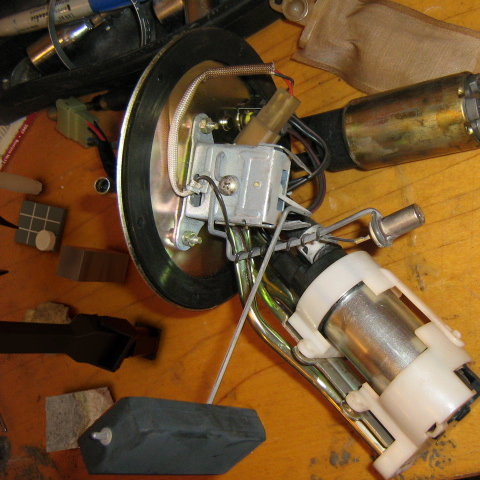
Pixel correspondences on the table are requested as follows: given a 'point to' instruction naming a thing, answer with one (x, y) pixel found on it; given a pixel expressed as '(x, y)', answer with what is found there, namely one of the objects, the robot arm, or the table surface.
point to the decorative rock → (48, 315)
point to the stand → (92, 264)
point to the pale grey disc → (45, 240)
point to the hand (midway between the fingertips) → (12, 249)
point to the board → (39, 222)
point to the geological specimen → (73, 416)
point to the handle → (19, 183)
